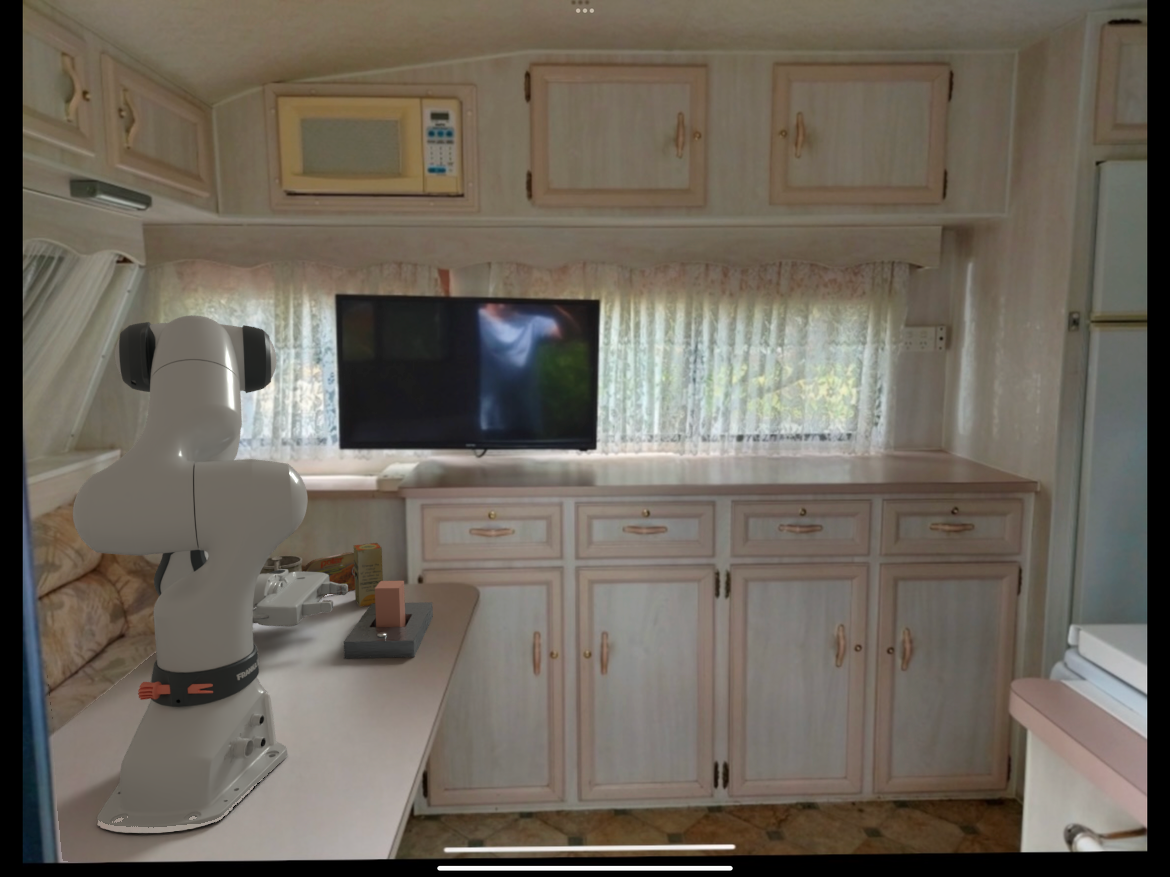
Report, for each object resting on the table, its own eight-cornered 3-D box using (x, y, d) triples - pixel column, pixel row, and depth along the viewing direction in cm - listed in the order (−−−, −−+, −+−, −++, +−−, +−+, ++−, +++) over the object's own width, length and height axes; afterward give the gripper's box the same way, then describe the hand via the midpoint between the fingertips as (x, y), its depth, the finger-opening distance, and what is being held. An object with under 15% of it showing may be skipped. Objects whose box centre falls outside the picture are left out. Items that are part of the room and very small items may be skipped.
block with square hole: (414, 657, 129) (413, 638, 129) (344, 658, 129) (343, 640, 128) (432, 616, 149) (432, 600, 149) (372, 617, 149) (371, 601, 148)
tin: (305, 601, 159) (303, 563, 158) (299, 598, 161) (298, 560, 160) (371, 586, 169) (369, 550, 168) (364, 583, 171) (363, 547, 170)
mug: (259, 600, 159) (257, 546, 158) (308, 596, 162) (306, 542, 161) (251, 624, 145) (248, 564, 144) (304, 618, 148) (302, 560, 147)
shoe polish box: (378, 596, 162) (377, 542, 160) (383, 603, 157) (381, 548, 156) (355, 600, 159) (353, 545, 158) (359, 606, 155) (357, 550, 154)
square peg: (400, 640, 137) (399, 588, 136) (376, 641, 136) (374, 588, 135) (405, 631, 141) (404, 580, 140) (382, 632, 141) (380, 581, 140)
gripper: (239, 600, 126) (321, 599, 127) (283, 566, 147) (353, 565, 147) (241, 636, 127) (323, 635, 128) (284, 597, 147) (355, 596, 148)
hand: (339, 597), depth 138 cm, fingers open, 8 cm apart
